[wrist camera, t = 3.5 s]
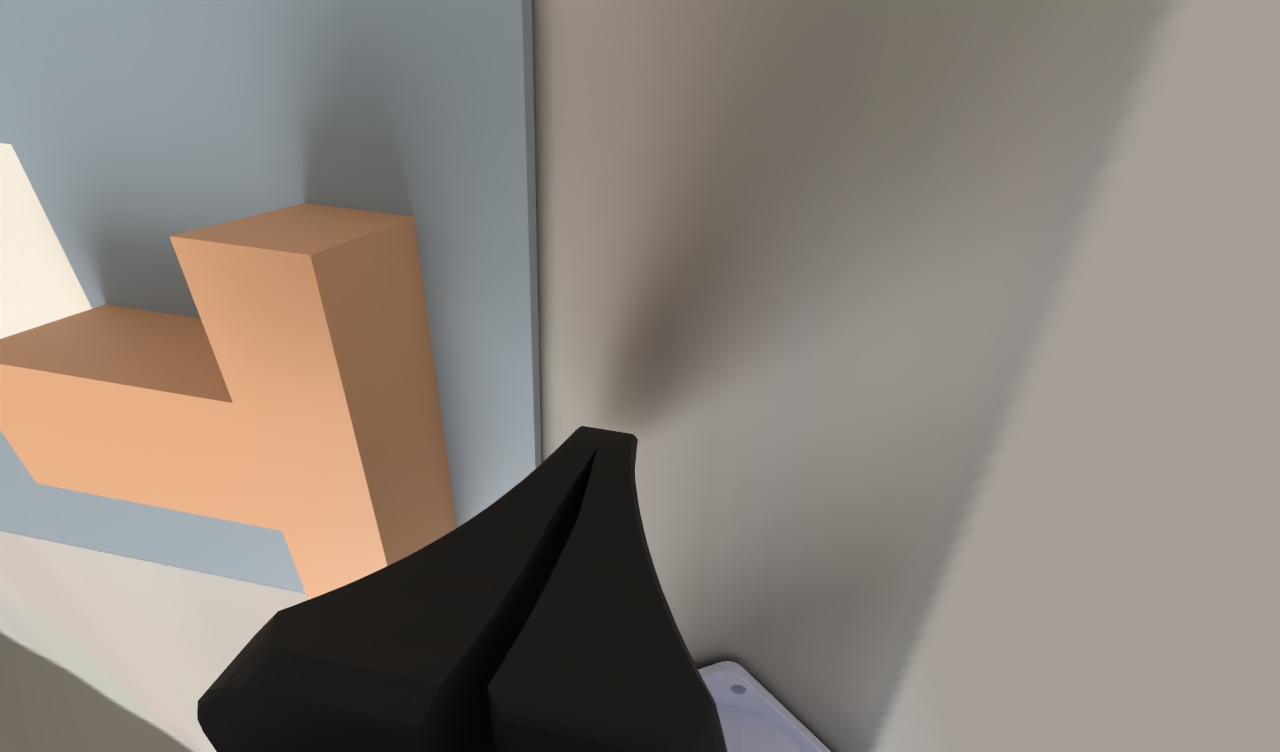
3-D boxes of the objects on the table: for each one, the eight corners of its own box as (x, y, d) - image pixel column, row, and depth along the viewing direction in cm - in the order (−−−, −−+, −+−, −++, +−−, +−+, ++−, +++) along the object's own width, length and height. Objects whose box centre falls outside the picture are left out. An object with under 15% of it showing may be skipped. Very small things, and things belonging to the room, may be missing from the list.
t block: (413, 216, 11) (309, 254, 8) (459, 547, 15) (405, 638, 13) (41, 170, 11) (-162, 191, 9) (197, 498, 16) (97, 573, 14)
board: (532, -7, 9) (521, -13, 8) (545, 628, 18) (540, 642, 17) (-583, -92, 11) (-635, -99, 11) (-80, 502, 20) (-97, 510, 20)
